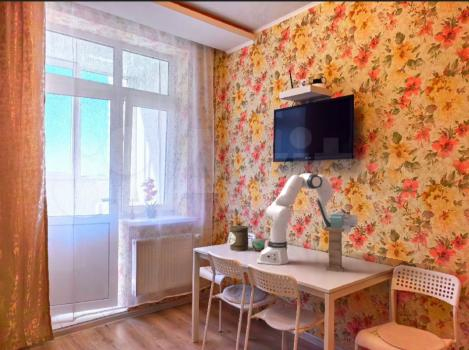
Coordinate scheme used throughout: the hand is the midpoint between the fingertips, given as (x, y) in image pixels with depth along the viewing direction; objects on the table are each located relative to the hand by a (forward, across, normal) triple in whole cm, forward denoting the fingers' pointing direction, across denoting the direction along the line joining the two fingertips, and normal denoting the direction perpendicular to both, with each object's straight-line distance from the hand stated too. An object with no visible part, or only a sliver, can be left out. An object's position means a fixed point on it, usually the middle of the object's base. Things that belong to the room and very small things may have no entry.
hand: (340, 213), depth 226 cm
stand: (0, 0, +38) cm, 38 cm away
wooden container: (-22, -82, +26) cm, 88 cm away
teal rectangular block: (+3, 0, +7) cm, 8 cm away
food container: (-22, -64, +26) cm, 72 cm away
